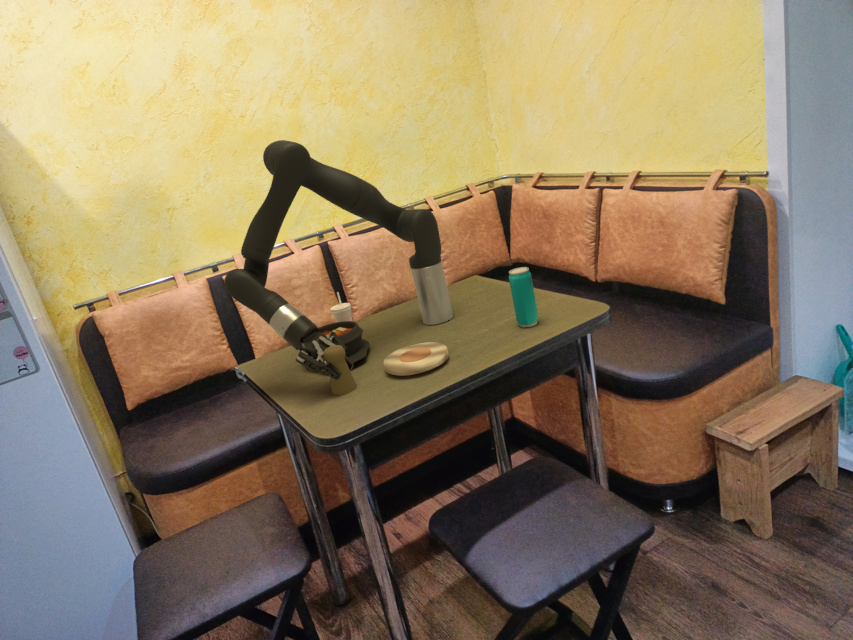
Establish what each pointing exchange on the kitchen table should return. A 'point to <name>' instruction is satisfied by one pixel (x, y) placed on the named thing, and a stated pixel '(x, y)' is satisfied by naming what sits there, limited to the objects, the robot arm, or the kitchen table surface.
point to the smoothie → (342, 311)
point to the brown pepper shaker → (337, 359)
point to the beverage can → (523, 297)
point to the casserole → (349, 338)
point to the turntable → (416, 358)
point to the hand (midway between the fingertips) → (345, 372)
